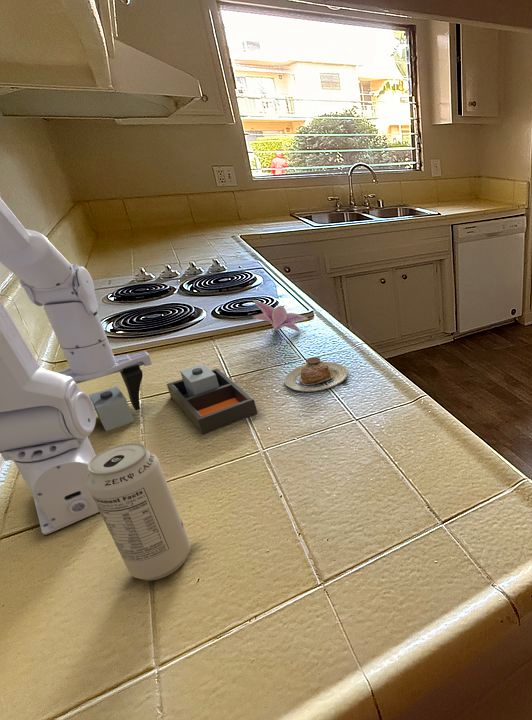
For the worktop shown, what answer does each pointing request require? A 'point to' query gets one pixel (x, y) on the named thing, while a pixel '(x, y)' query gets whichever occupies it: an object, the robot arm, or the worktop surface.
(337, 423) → the worktop surface
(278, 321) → the lily
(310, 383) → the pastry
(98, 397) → the grey knobbed block
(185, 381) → the grey block with knob
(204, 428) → the tray
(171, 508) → the energy drink can
